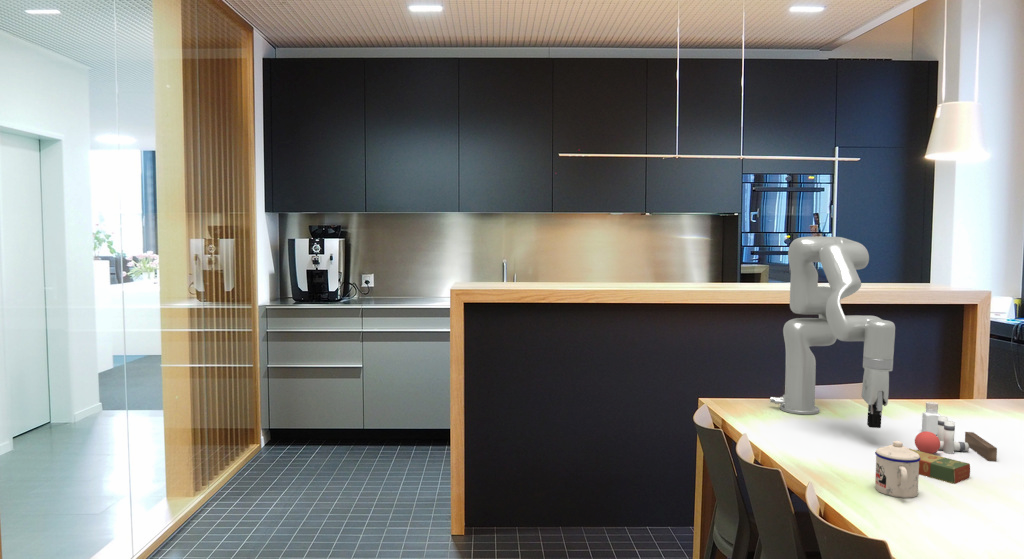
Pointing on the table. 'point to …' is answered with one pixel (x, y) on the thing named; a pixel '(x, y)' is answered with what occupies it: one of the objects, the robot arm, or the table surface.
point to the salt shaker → (930, 418)
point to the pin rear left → (941, 427)
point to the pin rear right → (949, 437)
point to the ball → (927, 442)
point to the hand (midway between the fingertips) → (873, 426)
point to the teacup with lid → (897, 471)
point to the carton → (942, 468)
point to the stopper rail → (981, 446)
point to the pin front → (957, 446)
